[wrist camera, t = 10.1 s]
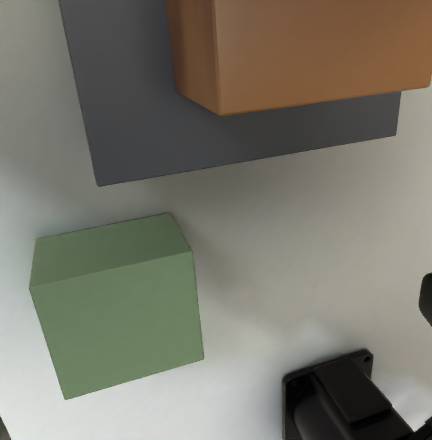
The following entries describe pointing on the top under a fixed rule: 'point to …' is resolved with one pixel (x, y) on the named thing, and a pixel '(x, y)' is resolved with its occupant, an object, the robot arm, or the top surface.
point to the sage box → (116, 302)
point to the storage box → (184, 103)
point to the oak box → (296, 50)
